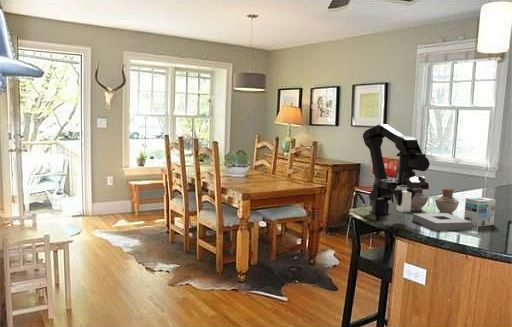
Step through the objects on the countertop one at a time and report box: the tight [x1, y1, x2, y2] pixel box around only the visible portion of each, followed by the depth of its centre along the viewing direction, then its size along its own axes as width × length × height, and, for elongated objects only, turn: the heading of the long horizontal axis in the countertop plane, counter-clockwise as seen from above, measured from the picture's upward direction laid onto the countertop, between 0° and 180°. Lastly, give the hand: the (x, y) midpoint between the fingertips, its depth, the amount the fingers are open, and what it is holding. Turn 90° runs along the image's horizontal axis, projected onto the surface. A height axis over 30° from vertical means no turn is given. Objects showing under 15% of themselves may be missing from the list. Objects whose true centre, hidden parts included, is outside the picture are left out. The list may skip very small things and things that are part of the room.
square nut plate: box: [412, 212, 473, 231], centre depth 175 cm, size 16×16×3 cm
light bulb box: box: [463, 196, 497, 227], centre depth 179 cm, size 11×7×11 cm, turn 116°
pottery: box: [410, 187, 460, 215], centre depth 200 cm, size 11×25×12 cm, turn 49°
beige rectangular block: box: [396, 190, 412, 213], centre depth 177 cm, size 4×4×8 cm
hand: (403, 205), depth 178 cm, fingers closed on beige rectangular block, 4 cm apart
